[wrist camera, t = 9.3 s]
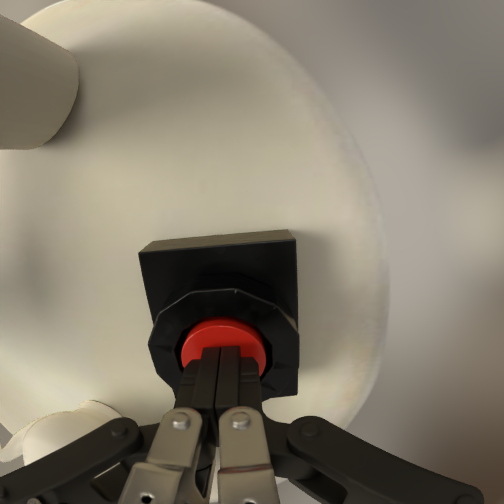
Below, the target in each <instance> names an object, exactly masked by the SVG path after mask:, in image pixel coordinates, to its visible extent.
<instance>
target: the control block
mask: <svg viewBox="0 0 504 504" xmlns="http://www.w3.org/2000/svg"><path fill="white" fill-rule="evenodd" d="M138 255H139V261H140V266H141V271H142V276H143V281H144V286H145V290H146V295H147V299H148V304H149V308H150V312H151V316H152V320H153V324H154V326H153V329H152V332H151V335H150V338H149V341H148V347H149V351H150V354H151V357H152V360H153V363H154V366H155V370H156V373H157V374H158V375H159V376H160V377H161V378H162V379H163V380H164V381H165V382H166V383H167V384H168V385H169V386H170V387H171V388H172V389H173V392H174V395H175V398H176V397H177V393H178V390H179V386H180V384H181V383H180V382H181V379H182V375H183V371H184V367H183V364H182V360H181V352H182V348H183V345H184V341H185V338H186V335H187V332H188V329H189V326H191V325H193V324H194V323H196V322H197V321H199V320H201V319H202V318H209V317H225V316H232V317H235V318H237V319H240V320H242V321H245V322H247V323H250V324H252V325H255V326H256V327H257V328H258V329H259V330H260V332H261V333H262V334H263V337H264V345H265V354H266V365H265V369H264V371H263V373H262V375H261V376H260V386H261V399H262V402H263V401H265V400H267V399H269V398H276V397H285V396H294V395H297V394H298V368H299V333H298V286H297V253H296V239H295V238H294V237H293V235H292V234H291V233H290V231H289V230H274V231H261V232H249V233H237V234H226V235H214V236H203V237H192V238H182V239H171V240H161V241H153V242H151V243H150V244H149V245H147V246H146V247H145V248H144V249H142V250H141V251H140V252H139V253H138Z"/></svg>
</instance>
